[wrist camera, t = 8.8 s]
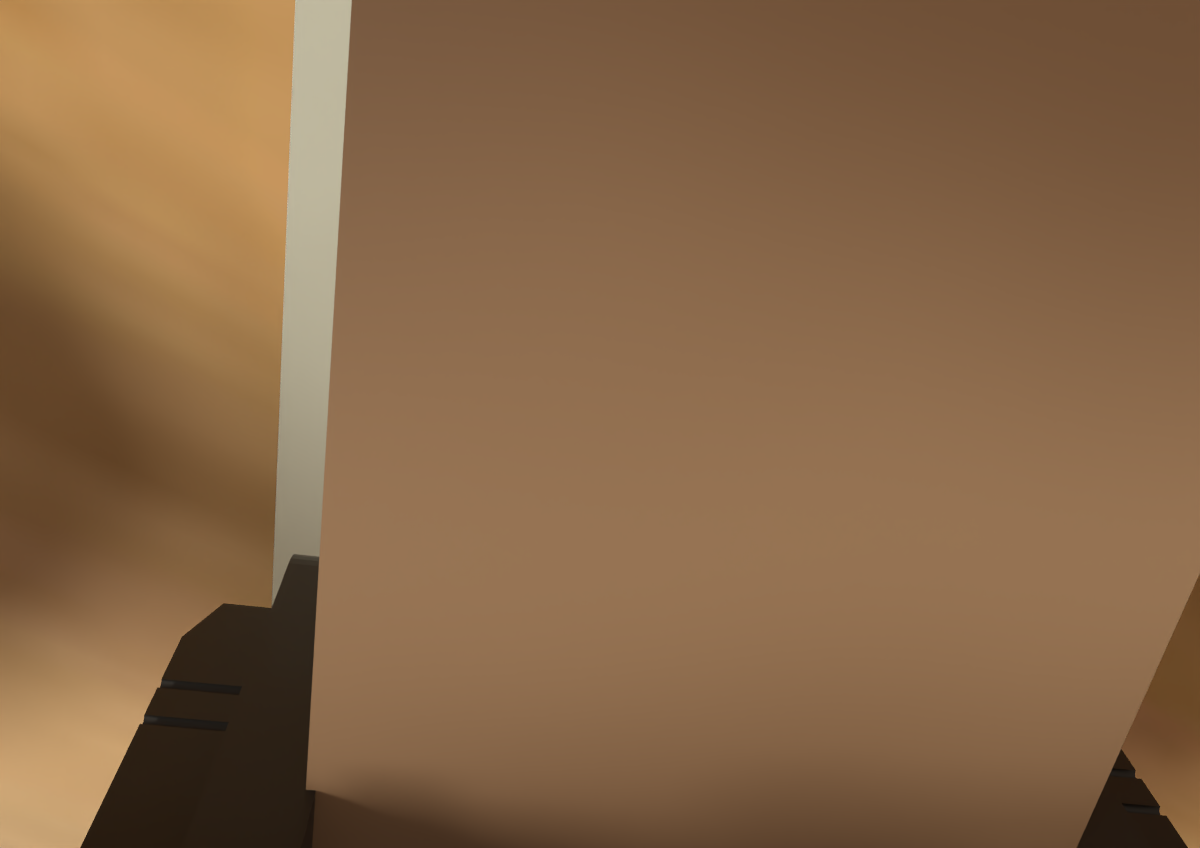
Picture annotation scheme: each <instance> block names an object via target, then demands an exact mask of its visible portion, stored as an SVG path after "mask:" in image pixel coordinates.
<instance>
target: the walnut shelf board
mask: <svg viewBox="0 0 1200 848" xmlns="http://www.w3.org/2000/svg"><path fill="white" fill-rule="evenodd" d="M1199 574H1200V0H352V4H351V22H350V39H349V56H348V73H347V90H346V108H345V125H344V142H343V159H342V176H341V194H340V211H339V228H338V245H337V262H336V280H335V297H334V314H333V331H332V348H331V366H330V383H329V400H328V417H327V434H326V452H325V469H324V486H323V503H322V520H321V538H320V555H319V572H318V589H317V606H316V624H315V641H314V658H313V675H312V692H311V710H310V727H309V744H308V761H307V778H306V790H316V794H315V810H314V826H313V841H312V848H1077V846H1078V843H1079V841H1080V839H1081V837H1082V835H1083V832H1084V830H1085V828H1086V826H1087V823H1088V821H1089V819H1090V817H1091V815H1092V812H1093V810H1094V808H1095V806H1096V803H1097V801H1098V799H1099V797H1100V795H1101V792H1102V790H1103V788H1104V786H1105V783H1106V781H1107V779H1108V777H1109V775H1110V772H1111V770H1112V768H1113V766H1114V763H1115V761H1116V759H1117V757H1118V754H1119V752H1120V750H1121V748H1122V746H1123V743H1124V741H1125V739H1126V737H1127V734H1128V732H1129V730H1130V728H1131V726H1132V723H1133V721H1134V719H1135V717H1136V714H1137V712H1138V710H1139V708H1140V706H1141V703H1142V701H1143V699H1144V697H1145V694H1146V692H1147V690H1148V688H1149V685H1150V683H1151V681H1152V679H1153V677H1154V674H1155V672H1156V670H1157V668H1158V665H1159V663H1160V661H1161V659H1162V657H1163V654H1164V652H1165V650H1166V648H1167V645H1168V643H1169V641H1170V639H1171V637H1172V634H1173V632H1174V630H1175V628H1176V625H1177V623H1178V621H1179V619H1180V616H1181V614H1182V612H1183V610H1184V608H1185V605H1186V603H1187V601H1188V599H1189V596H1190V594H1191V592H1192V590H1193V588H1194V585H1195V583H1196V581H1197V579H1198V576H1199Z"/></svg>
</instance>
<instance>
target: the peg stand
mask: <svg viewBox="0 0 1200 848" xmlns="http://www.w3.org/2000/svg"><path fill="white" fill-rule="evenodd" d="M351 4H352V0H295V25H294V51H293V76H292V102H291V127H290V153H289V178H288V204H287V229H286V255H285V280H284V306H283V331H282V357H281V382H280V408H279V433H278V459H277V484H276V510H275V535H274V561H273V586H272V606H273V603H274V600H275V598H276V595H277V592H278V590H279V587H280V585H281V582H282V579H283V577H284V574H285V571H286V569H287V566H288V563H289V561H290V559H291V557H292V555H293V554H299V555H309V556H319V555H320V538H321V520H322V503H323V486H324V469H325V452H326V434H327V417H328V400H329V383H330V366H331V348H332V331H333V314H334V297H335V280H336V262H337V245H338V228H339V211H340V194H341V176H342V159H343V142H344V125H345V108H346V90H347V73H348V56H349V39H350V22H351Z"/></svg>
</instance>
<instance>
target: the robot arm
mask: <svg viewBox="0 0 1200 848" xmlns="http://www.w3.org/2000/svg"><path fill="white" fill-rule="evenodd" d="M318 572H319V556H309V555H299V554H293V555H292V557H291V559H290V561H289V563H288V566H287V569H286V571H285V574H284V577H283V579H282V582H281V585H280V587H279V590H278V592H277V595H276V598H275V600H274V603H273V606H272V608H264V607H254V606H244V605H234V604H222V605H221V606H220V607H219V608H217V609H216V610H215V611H214V612H212V613H211V614H210V615H209V616H207V617H206V618H205V619H204V620H202V621H201V622H200V623H199V624H197V625H196V626H195V627H194V628H192V629H191V630H190V631H189V632H187V633H186V634H185V635H184V636H182V638H181V640H180V642H179V644H178V646H177V648H176V650H175V652H174V655H173V657H172V659H171V661H170V663H169V665H168V667H167V669H166V671H165V673H164V675H163V677H162V682H161V686H160V688H157V690H156V692H155V694H154V696H153V698H152V700H151V702H150V704H149V706H148V708H147V711H146V713H145V715H144V722H143V724H140V725H139V727H138V729H137V731H136V733H135V735H134V738H133V740H132V742H131V744H130V746H129V748H128V750H127V752H126V754H125V756H124V758H123V760H122V762H121V765H120V767H119V769H118V771H117V773H116V775H115V777H114V779H113V781H112V783H111V785H110V787H109V789H108V792H107V794H106V796H105V798H104V800H103V802H102V804H101V806H100V808H99V810H98V812H97V814H96V816H95V819H94V821H93V823H92V825H91V827H90V829H89V831H88V833H87V835H86V837H85V839H84V841H83V843H82V846H81V848H312V841H313V826H314V810H315V794H316V790H306V778H307V761H308V744H309V727H310V710H311V692H312V675H313V658H314V641H315V624H316V606H317V589H318ZM1135 771H1136V770H1135V769H1134V767H1133V766H1132V764H1131V763H1130V761H1129V760H1128V758H1127V757H1126V755H1125V754H1124V752H1123V751H1122V750H1120V752H1119V754H1118V757H1117V759H1116V761H1115V763H1114V766H1113V768H1112V770H1111V772H1110V775H1109V777H1108V779H1107V781H1106V783H1105V786H1104V788H1103V790H1102V792H1101V795H1100V797H1099V799H1098V801H1097V803H1096V806H1095V808H1094V810H1093V812H1092V815H1091V817H1090V819H1089V821H1088V823H1087V826H1086V828H1085V830H1084V832H1083V835H1082V837H1081V839H1080V841H1079V843H1078V846H1077V848H1188V847H1187V846H1186V844H1185V843H1184V841H1183V840H1182V838H1181V837H1180V835H1179V834H1178V832H1177V831H1176V830H1175V828H1174V827H1173V825H1172V824H1171V822H1170V821H1169V819H1168V818H1167V816H1162V815H1160V813H1159V808H1160V806H1159V804H1158V803H1157V801H1156V800H1155V798H1154V797H1153V795H1152V794H1151V792H1150V791H1149V790H1148V788H1147V787H1146V785H1145V784H1144V782H1143V781H1142V779H1136V778H1135Z"/></svg>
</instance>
